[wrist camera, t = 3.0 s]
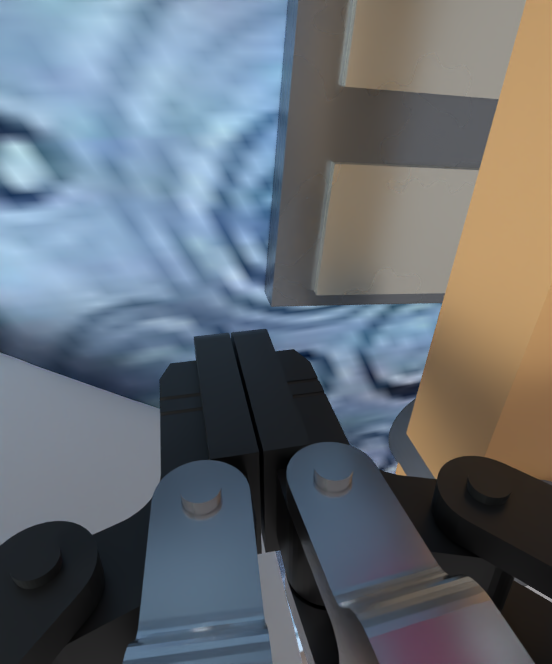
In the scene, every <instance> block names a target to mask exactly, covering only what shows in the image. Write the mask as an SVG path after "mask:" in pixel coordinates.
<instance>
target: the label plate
mask: <svg viewBox="0 0 552 664" xmlns="http://www.w3.org/2000/svg"><path fill="white" fill-rule="evenodd" d="M525 3H526V0H288V7H287V19H286V32H285V44H284V57H283V69H282V82H281V94H280V107H279V119H278V131H277V144H276V156H275V169H274V181H273V194H272V206H271V218H270V231H269V243H268V256H267V268H266V281H265V294H266V296H267V298H268V301H269V303H270V305H271V307H274V306H320V305H365V304H411V303H443V299H444V295H445V292H446V288H447V285H448V281H449V277H450V274H451V270H452V266H453V263H454V259H455V256H456V252H457V248H458V245H459V241H460V238H461V234H462V230H463V227H464V223H465V220H466V216H467V212H468V209H469V205H470V201H471V198H472V194H473V191H474V187H475V183H476V180H477V176H478V173H479V169H480V165H481V162H482V158H483V155H484V151H485V147H486V144H487V140H488V137H489V133H490V129H491V126H492V122H493V118H494V115H495V111H496V108H497V104H498V100H499V97H500V93H501V90H502V86H503V82H504V79H505V75H506V72H507V68H508V64H509V61H510V57H511V53H512V50H513V46H514V43H515V39H516V35H517V32H518V28H519V25H520V21H521V17H522V14H523V10H524V7H525Z"/></svg>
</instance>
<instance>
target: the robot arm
mask: <svg viewBox="0 0 552 664" xmlns="http://www.w3.org/2000/svg"><path fill="white" fill-rule="evenodd" d="M194 345H195V355H196V361H188V362H180V363H171V364H170V365H169V366H168V368H167V369H166V371H165V372H164V374H163V375H162V377H161V379H160V453H161V476H160V482H159V484H158V485H157V487H156V488H155V491H154V493H153V497H152V498H151V499H150V501H149V502H148V503H147V504H146V505H145V506H144V507H143V508H142V509H141V510H139V511H138V512H137V513H135V514H134V515H132V516H131V517H129V518H128V519H126V520H124V521H122V522H120V523H118V524H115V525H113V526H111V527H109V528H106V529H104V530H102V531H100V532H97V533H95V534H93V535H92V534H91V533H90V532H89V531H88V530H87V529H86V528H84V527H83V526H81V525H79V524H76V523H73V522H68V521H51V522H45V523H41V524H37V525H34V526H32V527H29V528H26V529H24V530H23V531H21V532H19V533H17V534H15V535H14V536H12V537H11V538H9V539H8V540H6V541H5V542H4V543H3V544H1V545H0V664H273V663H272V654H271V646H270V639H269V632H268V627H267V624H266V623H265V617H264V610H263V601H262V592H261V583H260V574H259V565H258V556H257V555H258V554H262V543H261V534H262V538H263V543H264V548H265V552H266V553H267V552H273V551H278V550H280V551H281V555H282V559H283V563H284V567H285V592H286V596H287V600H288V603H289V606H290V609H291V613H292V616H293V619H294V622H295V625H296V628H297V631H298V634H299V638H300V641H301V644H302V647H303V650H304V653H305V656H306V659H307V662H308V664H552V603H551V602H550V601H548V600H547V599H545V598H543V597H541V596H540V595H538V594H536V593H534V592H533V591H531V590H530V589H528V588H526V587H524V586H523V585H521V584H519V583H518V582H516V581H514V578H517V579H518V580H520V581H522V582H524V583H525V584H527V585H529V586H530V587H532V588H534V589H536V590H537V591H539V592H541V593H543V594H544V595H546V596H548V597H550V598H551V599H552V485H550V484H548V483H546V482H543V481H541V480H539V479H537V478H535V477H533V476H530V475H528V474H526V473H524V472H522V471H520V470H517V469H515V468H513V467H511V466H509V465H507V464H504V463H502V462H499V461H497V460H494V459H490V458H487V457H481V456H462V457H457V458H455V459H452V460H450V461H448V462H447V463H445V464H444V465H443V466H442V467H441V469H440V471H439V473H438V477H437V479H431V478H422V477H412V476H402V475H396V474H391V473H388V472H384V471H382V470H379V469H378V468H377V466H376V465H375V463H374V462H373V461H372V459H371V458H370V457H369V456H367V455H366V454H365V453H364V452H362V451H361V450H359V449H357V448H355V447H352V446H350V444H349V442H348V440H347V438H346V436H345V434H344V432H343V430H342V428H341V426H340V423H339V421H338V419H337V417H336V415H335V413H334V411H333V409H332V407H331V405H330V403H329V401H328V398H327V396H326V394H324V390H323V388H322V386H321V384H320V382H319V381H318V378H317V376H316V373H315V371H314V369H313V367H312V365H311V363H310V362H309V361H308V360H307V359H306V358H304V357H303V356H302V355H300V354H299V353H298V352H296V351H295V350H294V349H293V350H284V351H275V349H274V347H273V344H272V342H271V339H270V337H269V334H268V331H267V330H266V329H260V330H251V331H241V332H232V333H231V338H230V335H229V333H223V334H214V335H204V336H195V337H194Z"/></svg>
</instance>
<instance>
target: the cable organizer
mask: <svg viewBox="0 0 552 664" xmlns="http://www.w3.org/2000/svg"><path fill="white" fill-rule="evenodd" d="M160 476H161V453H160V409H159V408H156V407H153V406H150V405H147V404H144V403H141V402H138V401H135V400H132V399H129V398H126V397H123V396H120V395H117V394H115V393H112V392H109V391H106V390H103V389H100V388H97V387H95V386H92V385H89V384H86V383H83V382H80V381H78V380H75V379H72V378H69V377H66V376H63V375H60V374H58V373H55V372H52V371H49V370H46V369H43V368H41V367H38V366H35V365H32V364H30V363H28V362H26V361H23V360H20V359H17V358H14V357H12V356H9V355H6V354H3V353H0V545H1V544H3V543H4V542H5V541H6V540H8V539H9V538H11V537H12V536H14V535H15V534H17V533H19V532H21V531H23V530H24V529H26V528H29V527H32V526H34V525H37V524H41V523H45V522H51V521H68V522H73V523H76V524H79V525H81V526H83V527H84V528H86V529H87V530H88V531H89V532H90V533H91V534H92V535H93V534H95V533H97V532H100V531H102V530H104V529H106V528H109V527H111V526H113V525H115V524H118V523H120V522H122V521H124V520H126V519H128V518H129V517H131V516H132V515H134V514H135V513H137V512H138V511H139V510H141V509H142V508H143V507H144V506H145V505H146V504H147V503H148V502H149V501H150V499H151V498H152V497H153V493H154V491H155V488H156V487H157V485H158V484H159V482H160ZM261 543H262V554H258V555H257V556H258V565H259V574H260V583H261V592H262V601H263V610H264V617H265V623H266V624H267V627H268V632H269V639H270V646H271V654H272V663H273V664H302V660H301V656H300V652H299V648H298V643H297V639H296V635H295V631H294V627H293V623H292V618H291V614H290V610H289V606H288V602H287V598H286V594H285V589H284V585H283V581H282V577H281V573H280V569H279V565H278V560H277V556H276V552H275V551H273V552H267V553H266V552H265V548H264V543H263V538H262V534H261Z"/></svg>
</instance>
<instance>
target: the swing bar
mask: <svg viewBox="0 0 552 664" xmlns="http://www.w3.org/2000/svg"><path fill="white" fill-rule="evenodd" d="M389 447H390V450H391V452H392V454H393V456H394V458H395V459H396V461H397V463H398V465H397V469H396V472H395V473H396V475H402V476H412V477H422V478H431V479H437V477H438V473H439V471H440V469H441V467H442V466H443V465H444V464H445V463H447V462H448V461H450V460H452V459H455V458H457V457H462V456H481V457H487V458H490V459H494V460H497V461H499V462H502V463H504V464H507V465H509V466H511V467H513V468H515V469H517V470H520V471H522V472H524V473H526V474H528V475H530V476H533V477H535V478H537V479H539V480H541V481H543V482H546V483H548V484H550V485H552V0H526V3H525V7H524V10H523V14H522V17H521V21H520V25H519V28H518V32H517V35H516V39H515V43H514V46H513V50H512V53H511V57H510V61H509V64H508V68H507V72H506V75H505V79H504V82H503V86H502V90H501V93H500V97H499V100H498V104H497V108H496V111H495V115H494V118H493V122H492V126H491V129H490V133H489V137H488V140H487V144H486V147H485V151H484V155H483V158H482V162H481V165H480V169H479V173H478V176H477V180H476V183H475V187H474V191H473V194H472V198H471V201H470V205H469V209H468V212H467V216H466V220H465V223H464V227H463V230H462V234H461V238H460V241H459V245H458V248H457V252H456V256H455V259H454V263H453V266H452V270H451V274H450V277H449V281H448V285H447V288H446V292H445V295H444V299H443V303H442V306H441V310H440V313H439V317H438V321H437V324H436V328H435V331H434V335H433V339H432V342H431V346H430V350H429V353H428V357H427V360H426V364H425V368H424V371H423V375H422V378H421V382H420V386H419V389H418V393H417V396H416V399H415V400H413V401H412V402H411V403H409V404H408V405H407V406H406V407H405V408H404V409H403V410H402V411H401V412H400V413H399V415H398V416H397V417H396V419H395V421H394V422H393V424H392V426H391V429H390V432H389ZM514 581H516V582H518V583H519V584H521V585H523V586H527V584H525V583H524V582H522V581H520V580H518V579H517V578H514Z"/></svg>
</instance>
